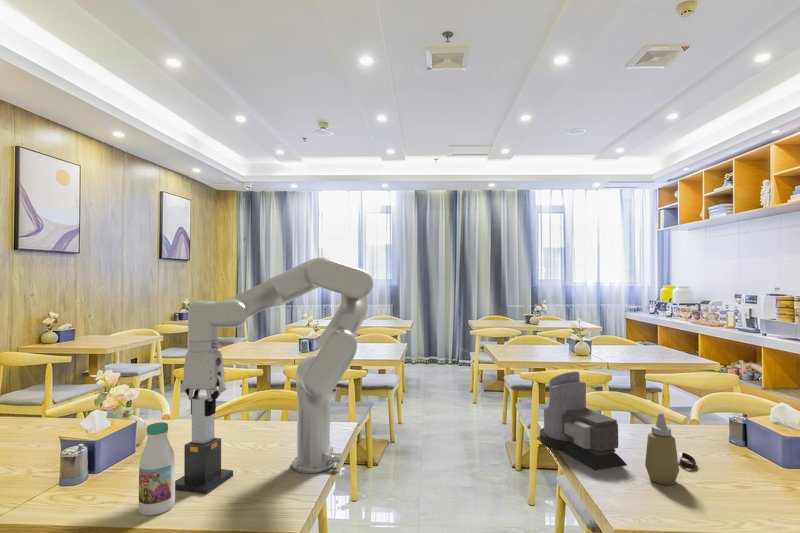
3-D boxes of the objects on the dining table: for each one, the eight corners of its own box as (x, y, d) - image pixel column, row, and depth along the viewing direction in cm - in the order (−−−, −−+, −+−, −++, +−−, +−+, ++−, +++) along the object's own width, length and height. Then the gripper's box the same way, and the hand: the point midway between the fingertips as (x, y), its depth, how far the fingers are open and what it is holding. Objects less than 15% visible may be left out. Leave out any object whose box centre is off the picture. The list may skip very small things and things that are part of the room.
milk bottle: (147, 500, 113) (148, 420, 113) (180, 499, 113) (180, 419, 113) (132, 517, 105) (132, 430, 105) (166, 515, 105) (167, 429, 106)
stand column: (214, 458, 124) (214, 396, 124) (204, 464, 120) (204, 400, 120) (201, 456, 125) (201, 395, 125) (191, 463, 121) (191, 399, 121)
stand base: (233, 475, 126) (233, 436, 126) (206, 494, 116) (206, 451, 116) (199, 471, 129) (199, 432, 129) (170, 489, 118) (171, 447, 119)
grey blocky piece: (527, 436, 156) (527, 365, 157) (566, 431, 161) (566, 362, 162) (588, 472, 128) (587, 385, 128) (633, 464, 133) (632, 381, 133)
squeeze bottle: (667, 490, 117) (666, 420, 117) (638, 477, 124) (637, 411, 124) (686, 483, 120) (685, 415, 121) (656, 471, 128) (655, 407, 128)
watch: (677, 459, 137) (676, 447, 137) (695, 462, 134) (695, 450, 134) (677, 468, 130) (677, 456, 130) (697, 472, 128) (696, 459, 128)
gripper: (238, 345, 124) (238, 412, 124) (187, 343, 129) (187, 408, 128) (220, 350, 117) (221, 421, 117) (167, 347, 121) (167, 416, 121)
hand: (203, 413), depth 123 cm, fingers closed on stand column, 4 cm apart
